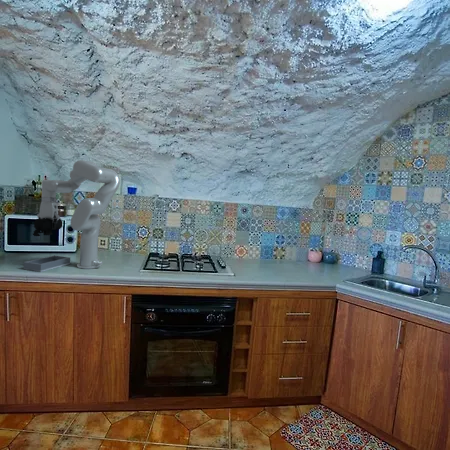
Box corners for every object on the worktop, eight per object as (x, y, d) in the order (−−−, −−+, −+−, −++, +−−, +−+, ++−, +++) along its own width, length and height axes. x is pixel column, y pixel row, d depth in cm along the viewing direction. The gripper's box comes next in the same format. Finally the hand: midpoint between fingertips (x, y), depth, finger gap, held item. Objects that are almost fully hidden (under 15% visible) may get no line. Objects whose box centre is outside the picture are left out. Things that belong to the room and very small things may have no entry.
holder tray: (70, 264, 191) (70, 257, 190) (40, 271, 169) (40, 264, 169) (54, 261, 193) (54, 255, 193) (23, 269, 172) (23, 262, 171)
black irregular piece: (29, 235, 188) (29, 218, 187) (54, 233, 206) (54, 217, 205) (38, 236, 186) (38, 219, 185) (63, 234, 204) (63, 218, 203)
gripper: (65, 201, 196) (64, 229, 198) (41, 199, 201) (41, 227, 202) (56, 201, 189) (55, 230, 191) (32, 199, 193) (31, 227, 195)
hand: (48, 228), depth 196 cm, fingers closed on black irregular piece, 7 cm apart
